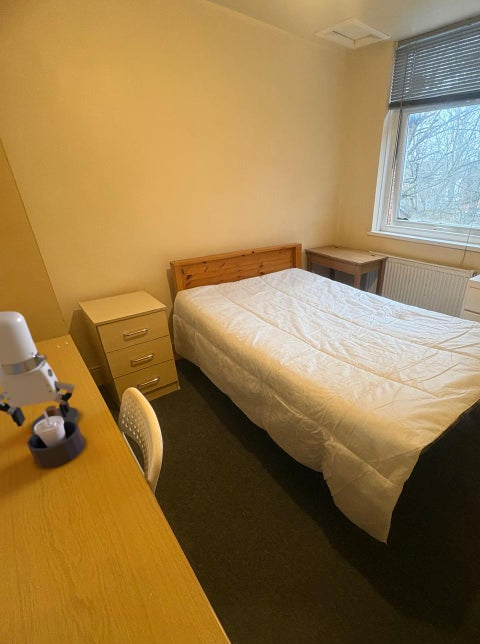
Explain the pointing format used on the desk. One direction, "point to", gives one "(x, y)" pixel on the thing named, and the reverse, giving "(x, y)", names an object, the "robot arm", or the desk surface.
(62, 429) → the smoothie
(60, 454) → the pot
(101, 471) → the desk surface
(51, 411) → the lid
